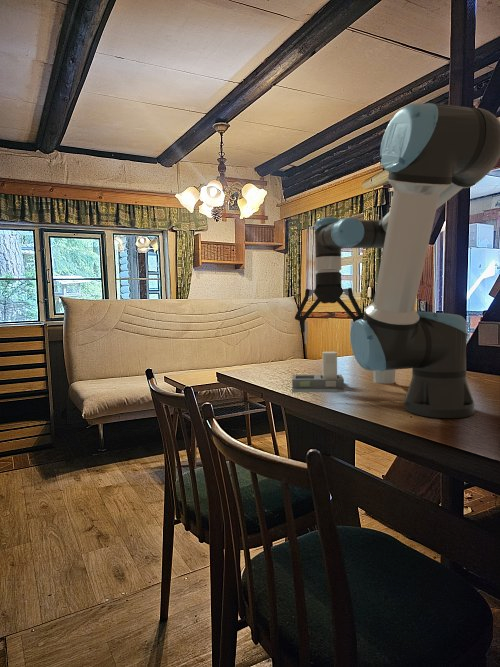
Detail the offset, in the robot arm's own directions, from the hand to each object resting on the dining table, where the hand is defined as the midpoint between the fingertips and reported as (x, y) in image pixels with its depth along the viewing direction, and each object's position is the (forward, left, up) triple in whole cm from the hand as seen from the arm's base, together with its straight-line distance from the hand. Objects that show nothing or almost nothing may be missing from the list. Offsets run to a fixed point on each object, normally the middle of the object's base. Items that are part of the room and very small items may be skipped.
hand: (328, 343), depth 131 cm
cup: (+5, -17, -14) cm, 22 cm away
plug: (0, 0, -13) cm, 13 cm away
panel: (0, +4, -14) cm, 14 cm away
